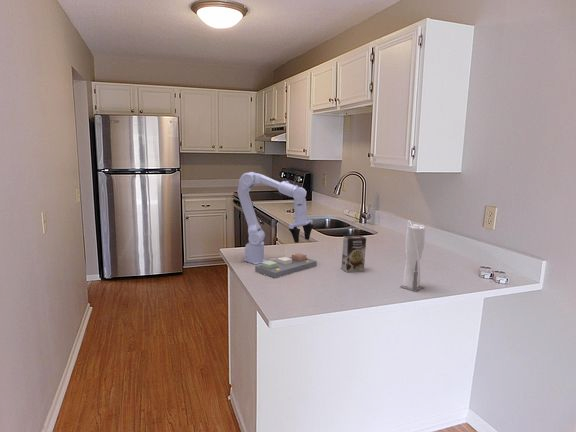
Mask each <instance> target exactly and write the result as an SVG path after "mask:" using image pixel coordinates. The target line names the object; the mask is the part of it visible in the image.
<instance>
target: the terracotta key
mask: <svg viewBox="0 0 576 432" xmlns="http://www.w3.org/2000/svg"><path fill="white" fill-rule="evenodd" d="M291 257H292V260H296V261H299V262H300V261H304V260H306V258H307V255H306V254H303V253H300V252H298V253H293V254H291Z"/></svg>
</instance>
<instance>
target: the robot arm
mask: <svg viewBox="0 0 576 432" xmlns="http://www.w3.org/2000/svg"><path fill="white" fill-rule="evenodd" d="M238 182H239V183H238V187H237V196H238V200H239V202H240V206H241V208H242V211H243V214H244V218H245V221H246V223H247V234H248V242H247V243H246V244H245V247H244V259H243V261H245V262H247V263H249V264H253V265H261V264H262V262H265V261H268V259H265V242H264V239H265V238H266V233H265V231H264V230H263V229H262V227H261V224H259V221H258V219H257V215H256V212H255V209H254V206H253V203H252V199H251V197H250V191H251V190H252V188H253V187H254V186H255V185H257V184H258V185H259V184H263V185H267V186H269V187H271V188H274V189H277V190H278V192H279V193H280V194H283V195H284V196H288V197H290V198H293V199H294V204H293V205H294V206H293V207H294V222H291V223H290V224H288V231H289V232H290V233H291V235H292V238H293V242H294V243H295V244H296V243H297V244H299V242H300V231H301V229H300V228H301V227H302V229H303V234H304V239H305V240H308V241H309V240H310V237H311V233H312V230H313V227H314V224H313V223H314V222H313V219H308V216H307V214H308V213H307V199H306V196H307V190H306V189H305V188H304V187H303V186H298V184H292V183H290V181H288V180H283V181H281V182H280V181H279V180H278V181H277V180H275V179H273V178H271V177H268V176H267V175H264V174H261V173H259V172H257V173H256V172H255V171H249V172H244V173H243V174H241V176H240V178H239V179H238Z"/></svg>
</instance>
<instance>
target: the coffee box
mask: <svg viewBox="0 0 576 432" xmlns="http://www.w3.org/2000/svg"><path fill="white" fill-rule="evenodd" d="M342 239H343V241H342V256H341V269H342V270H343V271H344V272H345V273H357V272H358V273H359V272H365V264H366V263H365V262H366V249H367V248H366V247H367V238H366V237H365V236H363V235H343V238H342Z"/></svg>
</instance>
